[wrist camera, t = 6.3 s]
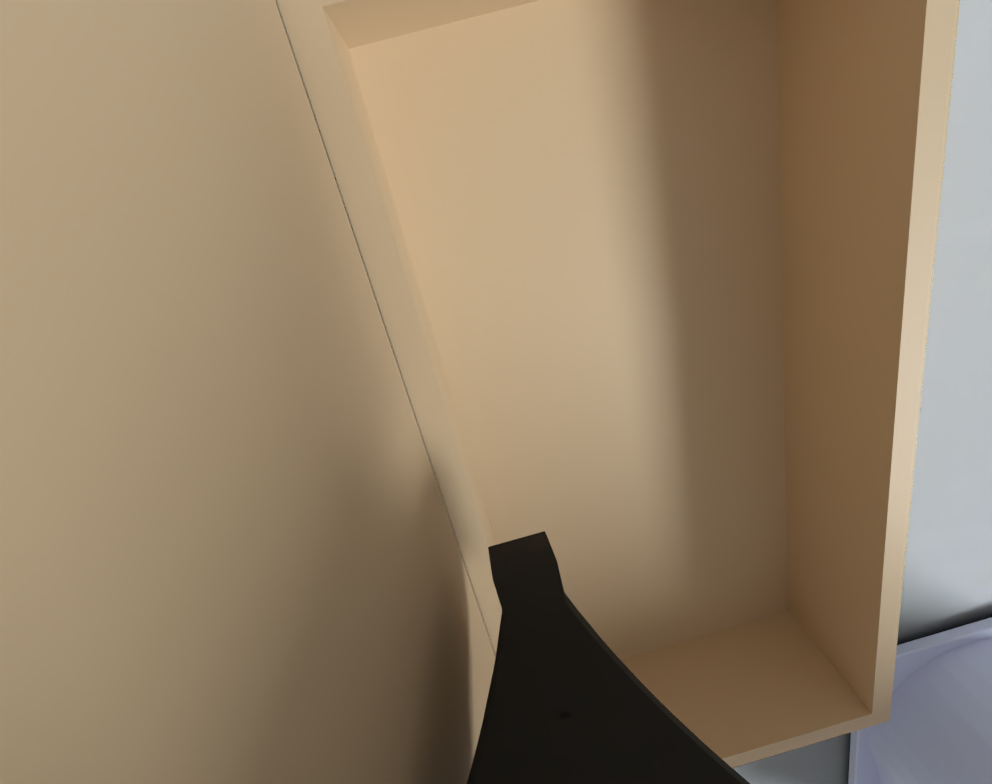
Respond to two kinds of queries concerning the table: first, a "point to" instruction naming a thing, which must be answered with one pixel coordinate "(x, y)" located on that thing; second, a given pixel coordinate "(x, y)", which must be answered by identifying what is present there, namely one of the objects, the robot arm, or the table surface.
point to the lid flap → (206, 429)
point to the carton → (663, 314)
